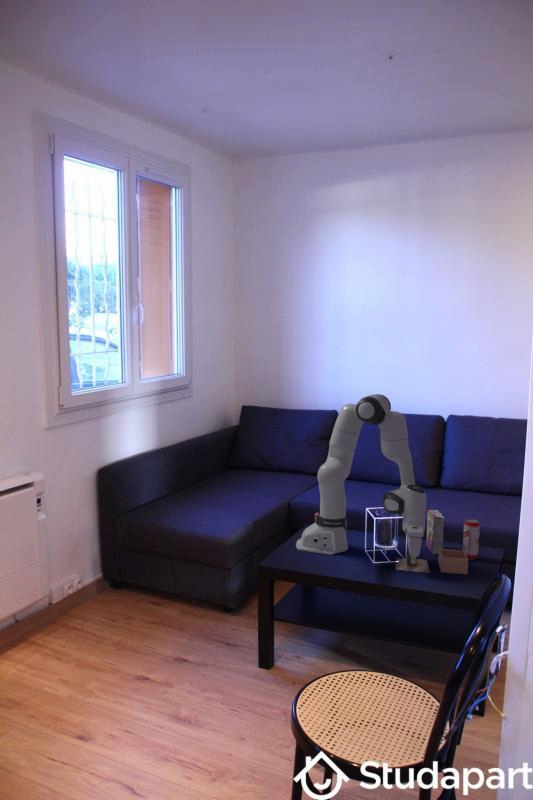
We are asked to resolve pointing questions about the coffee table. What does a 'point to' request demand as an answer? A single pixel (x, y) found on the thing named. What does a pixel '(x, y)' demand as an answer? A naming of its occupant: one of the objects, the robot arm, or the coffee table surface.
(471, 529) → the beer can
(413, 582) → the coffee table surface
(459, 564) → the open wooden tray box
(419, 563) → the lid
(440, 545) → the candy bar box
